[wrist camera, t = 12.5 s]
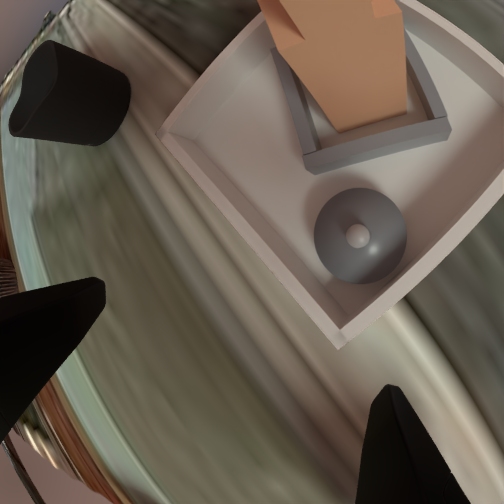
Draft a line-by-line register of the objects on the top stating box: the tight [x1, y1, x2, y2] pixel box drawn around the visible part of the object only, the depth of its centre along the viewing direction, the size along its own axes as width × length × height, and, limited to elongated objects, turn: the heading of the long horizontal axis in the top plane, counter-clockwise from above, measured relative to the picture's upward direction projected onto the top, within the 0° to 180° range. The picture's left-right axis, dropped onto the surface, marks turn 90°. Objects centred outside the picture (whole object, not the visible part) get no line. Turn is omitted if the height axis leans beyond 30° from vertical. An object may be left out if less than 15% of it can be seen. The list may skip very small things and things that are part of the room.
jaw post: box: [257, 0, 407, 134], centre depth 11 cm, size 4×4×13 cm
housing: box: [155, 0, 504, 350], centre depth 17 cm, size 18×18×4 cm
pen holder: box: [9, 40, 130, 146], centre depth 24 cm, size 9×9×10 cm
